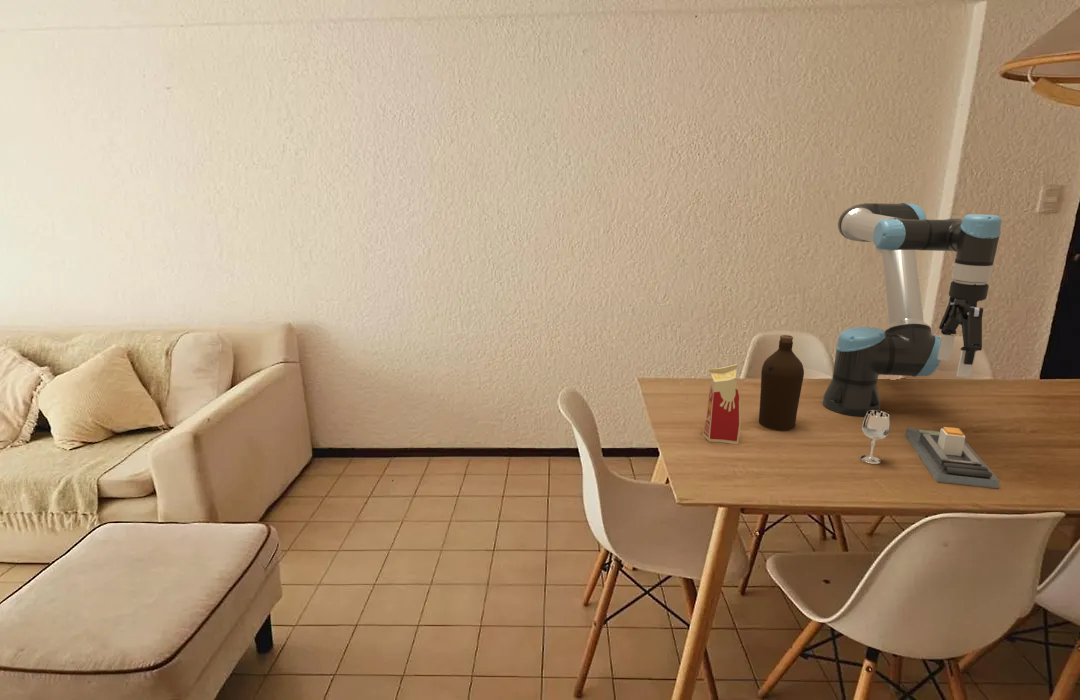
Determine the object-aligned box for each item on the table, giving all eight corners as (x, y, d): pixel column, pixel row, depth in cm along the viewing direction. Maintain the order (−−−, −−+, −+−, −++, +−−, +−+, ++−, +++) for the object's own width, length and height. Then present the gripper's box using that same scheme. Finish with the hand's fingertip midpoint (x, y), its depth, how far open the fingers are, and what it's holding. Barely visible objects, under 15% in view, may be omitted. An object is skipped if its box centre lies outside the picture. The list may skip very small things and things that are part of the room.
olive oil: (794, 435, 166) (805, 344, 159) (752, 427, 171) (761, 338, 164) (799, 421, 175) (810, 334, 168) (760, 413, 180) (769, 329, 173)
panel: (936, 481, 142) (939, 468, 141) (905, 435, 166) (907, 423, 165) (997, 488, 139) (1000, 475, 138) (956, 440, 163) (958, 428, 162)
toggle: (942, 454, 150) (946, 432, 149) (937, 447, 154) (941, 426, 153) (961, 456, 149) (965, 434, 148) (955, 448, 153) (959, 427, 152)
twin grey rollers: (948, 474, 141) (949, 468, 141) (942, 467, 144) (943, 461, 144) (992, 479, 139) (993, 473, 138) (986, 471, 142) (987, 466, 142)
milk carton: (736, 430, 169) (743, 359, 163) (740, 444, 160) (747, 370, 155) (701, 427, 171) (707, 357, 165) (703, 441, 162) (709, 368, 156)
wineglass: (855, 461, 151) (863, 415, 148) (858, 452, 156) (865, 407, 153) (882, 467, 148) (891, 420, 145) (884, 458, 153) (892, 412, 150)
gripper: (1012, 292, 135) (991, 385, 141) (967, 273, 158) (952, 354, 165) (972, 291, 137) (954, 383, 143) (934, 272, 160) (920, 352, 166)
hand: (953, 367), depth 154 cm, fingers open, 13 cm apart
